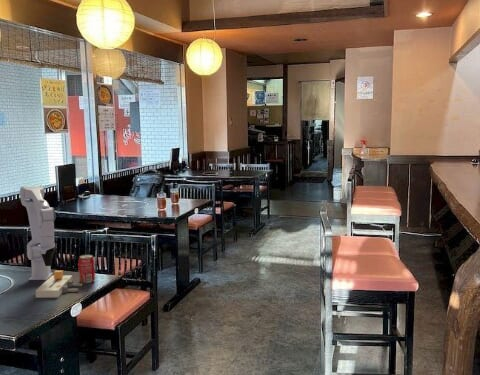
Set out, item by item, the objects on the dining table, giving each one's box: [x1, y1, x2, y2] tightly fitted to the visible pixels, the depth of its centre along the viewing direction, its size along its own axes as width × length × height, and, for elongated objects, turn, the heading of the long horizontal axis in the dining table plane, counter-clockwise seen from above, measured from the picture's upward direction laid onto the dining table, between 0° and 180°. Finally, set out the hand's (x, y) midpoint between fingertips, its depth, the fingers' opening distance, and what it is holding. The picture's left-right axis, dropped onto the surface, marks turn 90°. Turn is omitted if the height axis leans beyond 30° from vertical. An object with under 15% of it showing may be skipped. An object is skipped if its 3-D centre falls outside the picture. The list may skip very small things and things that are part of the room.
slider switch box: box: [35, 274, 73, 299], centre depth 200 cm, size 20×9×3 cm, turn 4°
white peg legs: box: [62, 280, 84, 294], centre depth 200 cm, size 9×6×2 cm, turn 4°
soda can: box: [77, 254, 96, 284], centre depth 210 cm, size 7×7×12 cm
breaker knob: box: [53, 270, 64, 279], centre depth 204 cm, size 2×3×3 cm
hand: (48, 265), depth 202 cm, fingers closed
